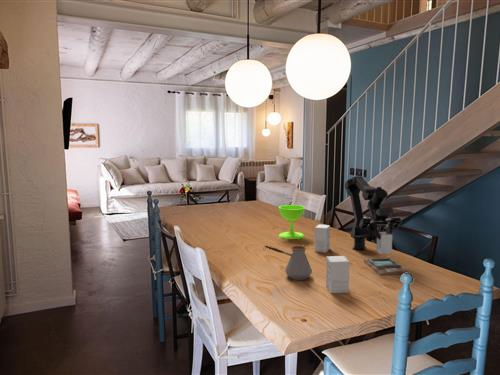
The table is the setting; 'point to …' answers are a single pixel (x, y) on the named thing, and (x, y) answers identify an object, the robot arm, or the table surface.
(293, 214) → the wineglass
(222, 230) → the table surface
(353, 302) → the table surface
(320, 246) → the small box
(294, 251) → the coffee pot
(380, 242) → the light grey block
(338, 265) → the supplement box
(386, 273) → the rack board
